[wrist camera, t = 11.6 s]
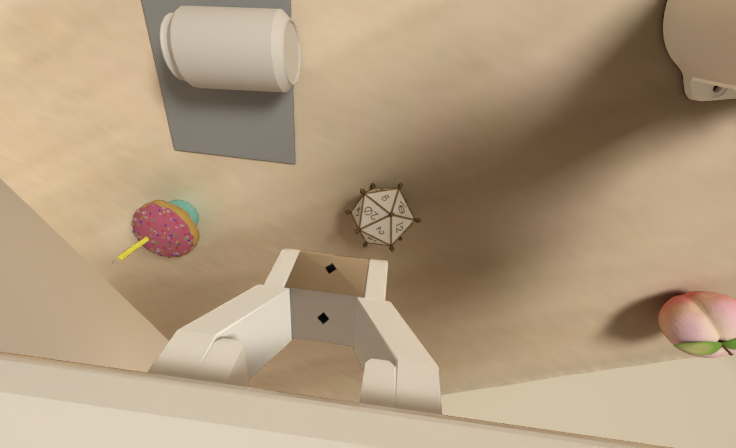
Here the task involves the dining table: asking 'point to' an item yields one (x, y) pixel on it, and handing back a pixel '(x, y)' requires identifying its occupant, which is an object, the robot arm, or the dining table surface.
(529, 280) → the dining table surface
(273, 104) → the mat
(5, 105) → the dining table surface
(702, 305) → the decorative fruit
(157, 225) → the cupcake
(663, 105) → the dining table surface
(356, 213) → the game die
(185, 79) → the can
